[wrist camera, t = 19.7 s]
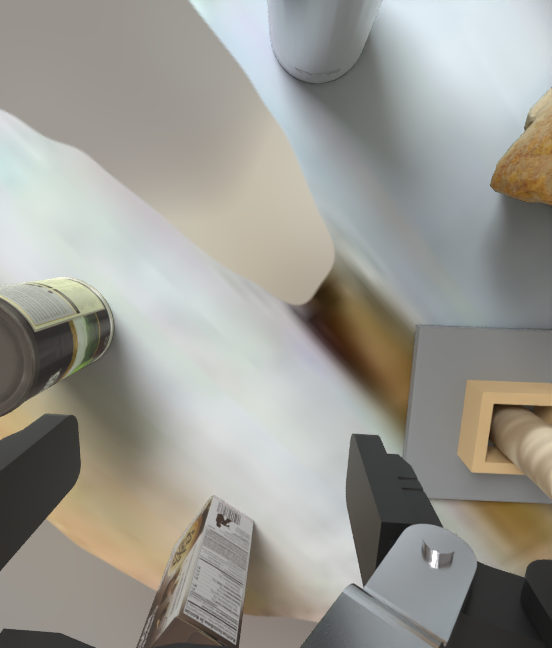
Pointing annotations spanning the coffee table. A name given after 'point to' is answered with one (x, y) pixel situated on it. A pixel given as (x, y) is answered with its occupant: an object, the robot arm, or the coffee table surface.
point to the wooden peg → (524, 442)
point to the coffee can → (48, 335)
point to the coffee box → (203, 582)
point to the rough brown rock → (529, 158)
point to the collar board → (473, 408)
